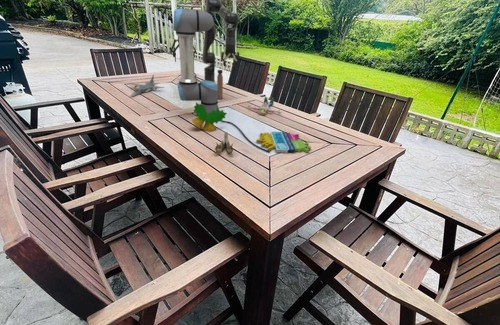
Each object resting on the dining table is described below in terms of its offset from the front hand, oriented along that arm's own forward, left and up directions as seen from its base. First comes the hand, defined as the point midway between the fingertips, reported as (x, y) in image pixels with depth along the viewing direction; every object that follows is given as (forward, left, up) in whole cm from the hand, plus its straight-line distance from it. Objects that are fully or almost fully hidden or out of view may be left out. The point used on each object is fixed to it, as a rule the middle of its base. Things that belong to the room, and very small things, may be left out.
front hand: (184, 61), depth 211 cm
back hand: (-20, -34, +1) cm, 39 cm away
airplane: (+17, +34, -28) cm, 47 cm away
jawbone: (-108, -13, -28) cm, 112 cm away
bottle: (-9, -28, -28) cm, 40 cm away
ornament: (-76, -10, -28) cm, 81 cm away
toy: (-42, -58, -28) cm, 77 cm away
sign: (-102, -48, -28) cm, 117 cm away
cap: (-9, -28, -5) cm, 30 cm away
